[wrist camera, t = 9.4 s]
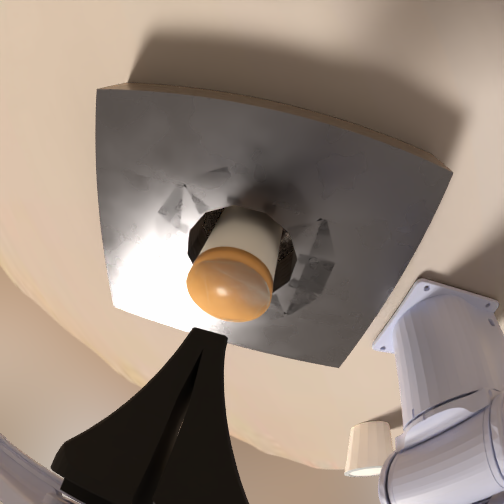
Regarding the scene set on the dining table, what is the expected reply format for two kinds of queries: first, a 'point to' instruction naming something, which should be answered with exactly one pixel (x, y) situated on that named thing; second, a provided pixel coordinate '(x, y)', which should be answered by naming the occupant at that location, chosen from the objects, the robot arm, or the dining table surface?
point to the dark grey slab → (260, 199)
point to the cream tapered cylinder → (368, 448)
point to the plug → (236, 266)
